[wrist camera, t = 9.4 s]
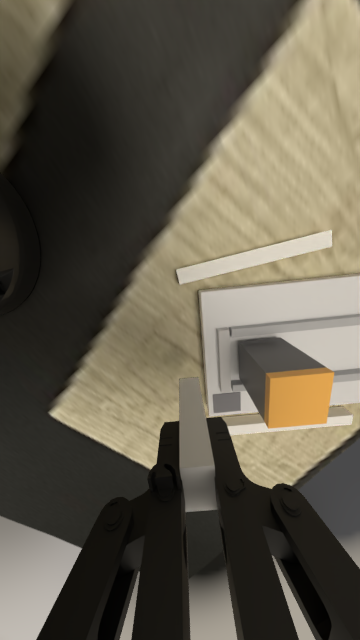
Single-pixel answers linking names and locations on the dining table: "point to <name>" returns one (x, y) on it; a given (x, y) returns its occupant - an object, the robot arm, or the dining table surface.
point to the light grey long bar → (257, 425)
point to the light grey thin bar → (255, 257)
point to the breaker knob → (285, 383)
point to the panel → (281, 333)
